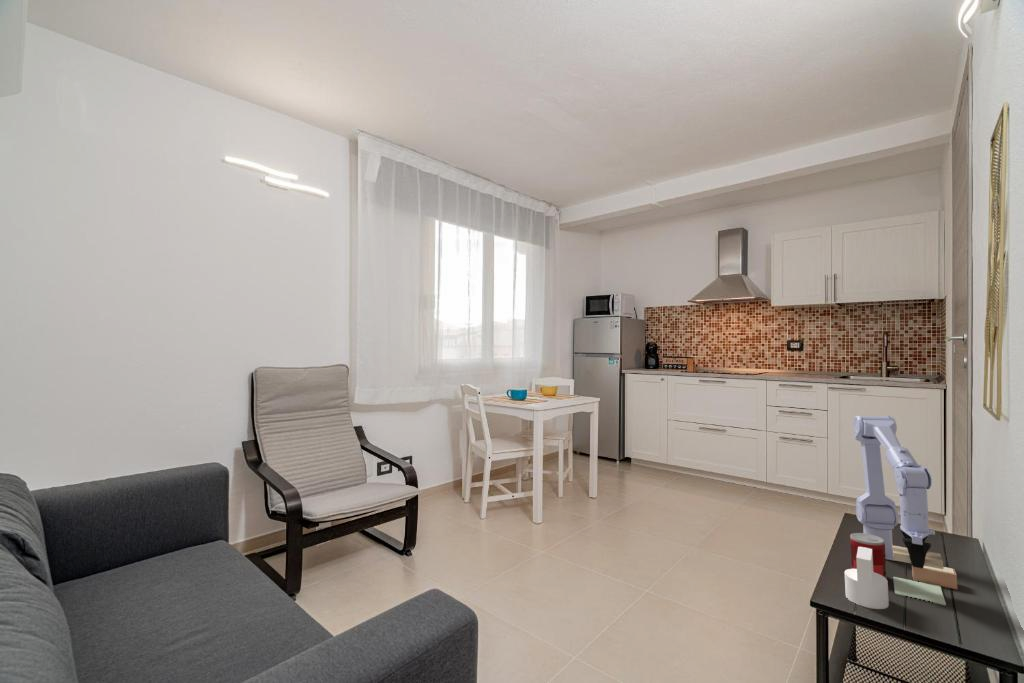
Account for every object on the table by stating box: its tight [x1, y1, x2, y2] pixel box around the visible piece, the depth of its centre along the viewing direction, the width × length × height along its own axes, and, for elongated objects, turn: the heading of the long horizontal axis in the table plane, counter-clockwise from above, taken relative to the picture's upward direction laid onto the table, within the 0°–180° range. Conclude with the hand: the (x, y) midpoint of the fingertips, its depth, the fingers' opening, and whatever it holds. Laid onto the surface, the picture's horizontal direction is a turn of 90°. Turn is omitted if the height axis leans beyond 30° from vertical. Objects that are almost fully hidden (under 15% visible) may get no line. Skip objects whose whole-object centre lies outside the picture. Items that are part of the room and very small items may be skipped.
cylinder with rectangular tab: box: [844, 547, 890, 610], centre depth 122 cm, size 9×9×12 cm
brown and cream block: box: [911, 565, 958, 590], centre depth 130 cm, size 4×9×4 cm, turn 53°
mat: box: [892, 576, 947, 606], centre depth 126 cm, size 11×10×1 cm
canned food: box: [849, 532, 887, 579], centre depth 134 cm, size 8×8×11 cm
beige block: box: [892, 544, 944, 569], centre depth 126 cm, size 6×10×2 cm, turn 53°
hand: (916, 562), depth 126 cm, fingers closed on beige block, 6 cm apart
